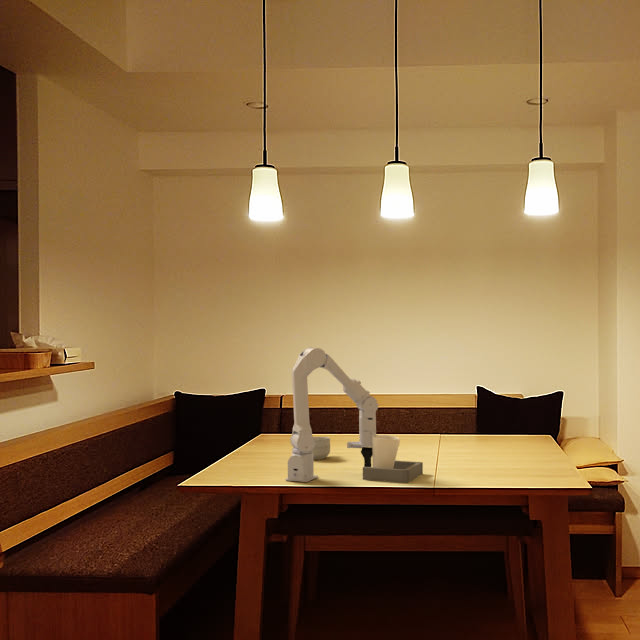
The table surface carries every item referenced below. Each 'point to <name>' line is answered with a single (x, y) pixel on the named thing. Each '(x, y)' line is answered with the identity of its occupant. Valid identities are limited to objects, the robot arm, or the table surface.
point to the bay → (395, 472)
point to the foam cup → (384, 450)
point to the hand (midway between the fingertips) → (368, 469)
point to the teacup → (321, 447)
